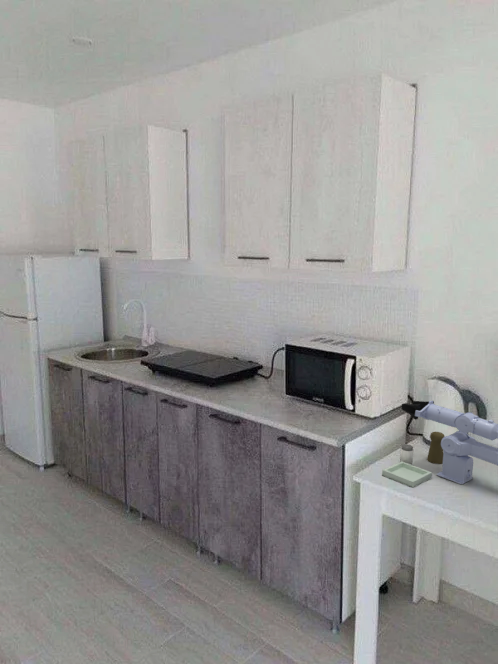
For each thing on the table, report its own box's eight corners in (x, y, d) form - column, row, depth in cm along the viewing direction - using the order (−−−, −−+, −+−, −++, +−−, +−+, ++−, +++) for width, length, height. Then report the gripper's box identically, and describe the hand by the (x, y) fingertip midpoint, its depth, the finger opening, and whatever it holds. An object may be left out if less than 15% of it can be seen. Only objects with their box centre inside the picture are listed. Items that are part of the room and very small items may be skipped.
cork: (446, 464, 192) (448, 435, 191) (429, 463, 193) (432, 435, 191) (440, 457, 198) (443, 430, 197) (424, 457, 199) (427, 429, 197)
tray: (431, 477, 181) (432, 472, 180) (412, 487, 173) (413, 482, 172) (401, 466, 189) (401, 461, 189) (382, 475, 182) (382, 469, 181)
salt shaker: (414, 464, 191) (415, 446, 190) (407, 468, 188) (409, 449, 187) (404, 461, 194) (405, 443, 193) (397, 464, 192) (398, 446, 190)
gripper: (453, 401, 187) (419, 392, 197) (433, 406, 178) (398, 397, 187) (450, 420, 188) (417, 410, 198) (430, 426, 179) (396, 415, 189)
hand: (407, 405), depth 193 cm, fingers open, 7 cm apart
